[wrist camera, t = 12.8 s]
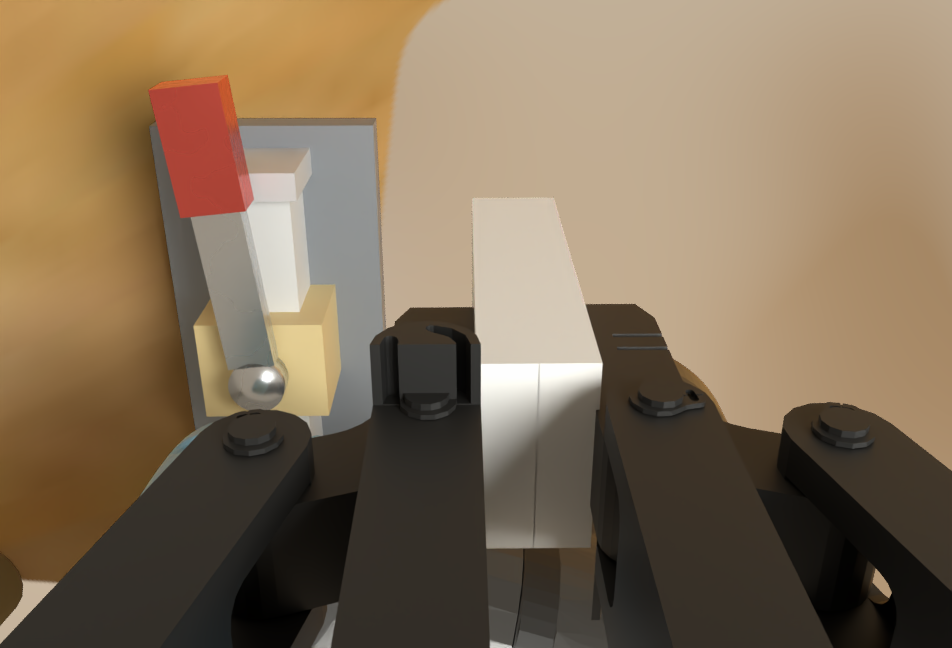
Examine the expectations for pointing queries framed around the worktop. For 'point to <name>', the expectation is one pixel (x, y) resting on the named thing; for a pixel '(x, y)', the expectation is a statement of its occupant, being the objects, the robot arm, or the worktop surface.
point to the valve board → (329, 248)
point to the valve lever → (221, 228)
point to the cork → (9, 588)
